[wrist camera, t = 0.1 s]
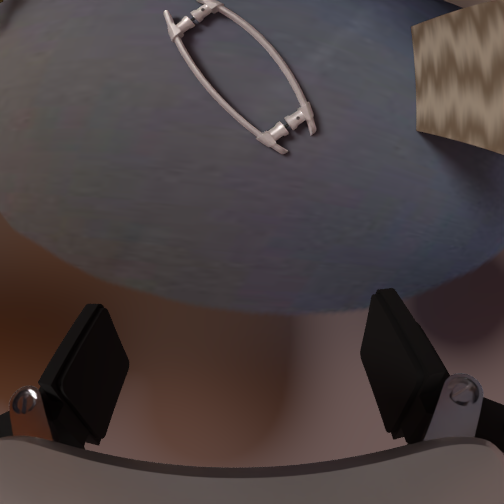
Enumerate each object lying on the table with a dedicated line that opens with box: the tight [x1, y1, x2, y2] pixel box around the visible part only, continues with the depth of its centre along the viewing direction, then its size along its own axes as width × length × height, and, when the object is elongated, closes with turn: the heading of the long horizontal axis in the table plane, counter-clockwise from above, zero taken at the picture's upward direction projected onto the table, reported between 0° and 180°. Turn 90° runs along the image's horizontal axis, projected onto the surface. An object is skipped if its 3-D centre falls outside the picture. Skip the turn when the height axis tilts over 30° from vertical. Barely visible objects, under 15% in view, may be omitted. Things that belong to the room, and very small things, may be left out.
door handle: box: [163, 0, 316, 154], centre depth 31 cm, size 3×10×25 cm
